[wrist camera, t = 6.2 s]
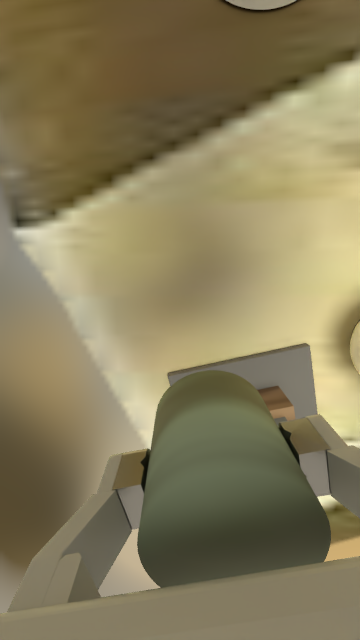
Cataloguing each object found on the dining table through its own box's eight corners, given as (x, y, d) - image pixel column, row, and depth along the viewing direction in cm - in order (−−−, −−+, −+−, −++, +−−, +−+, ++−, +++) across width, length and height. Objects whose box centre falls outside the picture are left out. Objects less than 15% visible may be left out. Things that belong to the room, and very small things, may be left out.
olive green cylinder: (143, 383, 11) (112, 491, 6) (257, 359, 10) (322, 452, 6) (170, 472, 12) (163, 619, 7) (273, 453, 12) (336, 594, 7)
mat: (168, 373, 29) (167, 376, 28) (306, 343, 28) (309, 345, 27) (197, 481, 33) (197, 486, 32) (319, 458, 32) (322, 463, 31)
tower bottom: (209, 399, 29) (214, 422, 25) (278, 385, 28) (293, 406, 25) (222, 455, 31) (228, 484, 27) (286, 443, 30) (302, 470, 27)
